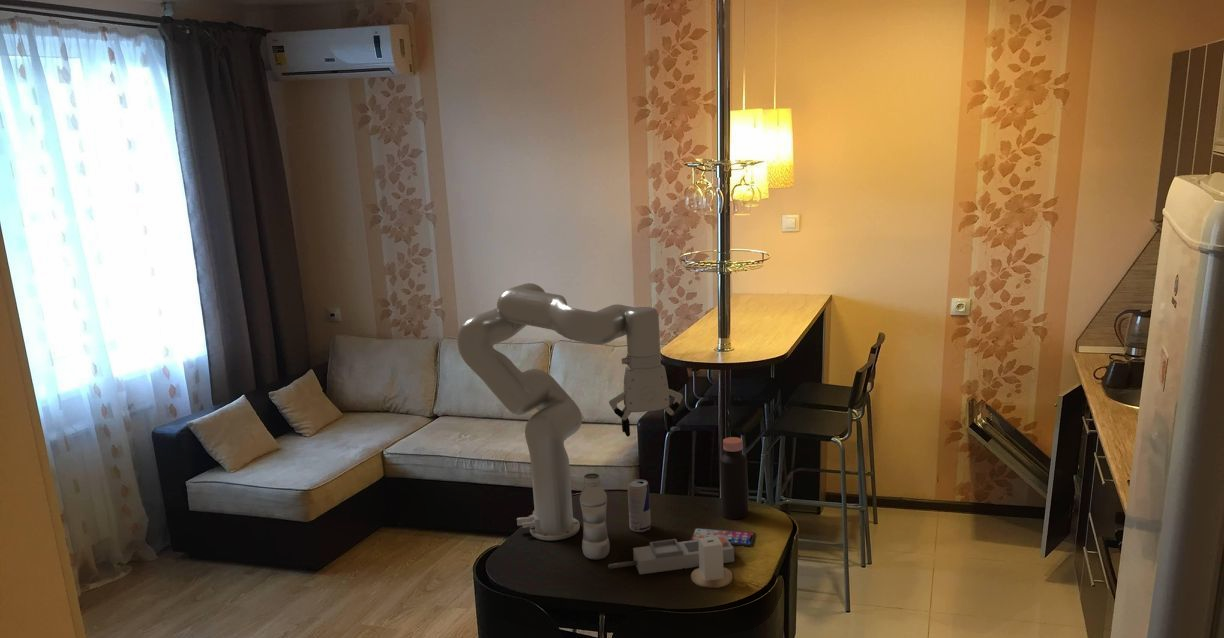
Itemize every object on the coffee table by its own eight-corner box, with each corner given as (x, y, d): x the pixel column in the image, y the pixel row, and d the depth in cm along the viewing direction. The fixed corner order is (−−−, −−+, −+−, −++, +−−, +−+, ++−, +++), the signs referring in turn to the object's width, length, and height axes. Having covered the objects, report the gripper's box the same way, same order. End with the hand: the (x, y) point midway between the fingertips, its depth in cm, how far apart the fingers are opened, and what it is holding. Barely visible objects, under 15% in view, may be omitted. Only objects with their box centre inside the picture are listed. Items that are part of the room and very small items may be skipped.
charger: (705, 581, 181) (703, 546, 180) (699, 572, 185) (698, 538, 184) (723, 578, 182) (722, 543, 181) (717, 569, 186) (716, 535, 185)
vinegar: (727, 507, 220) (725, 434, 216) (752, 511, 216) (750, 437, 212) (717, 517, 214) (714, 442, 210) (742, 521, 211) (740, 446, 207)
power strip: (611, 578, 186) (610, 560, 185) (606, 564, 192) (605, 547, 192) (734, 561, 191) (733, 544, 190) (725, 548, 197) (725, 532, 196)
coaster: (697, 590, 179) (697, 588, 179) (686, 570, 188) (686, 568, 187) (737, 584, 180) (737, 582, 180) (725, 565, 189) (725, 563, 189)
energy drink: (654, 526, 211) (652, 481, 209) (644, 534, 207) (641, 488, 204) (636, 522, 214) (634, 477, 212) (625, 530, 209) (623, 485, 207)
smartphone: (694, 527, 208) (755, 531, 204) (694, 531, 208) (755, 535, 204) (689, 540, 201) (752, 545, 197) (689, 544, 201) (752, 549, 197)
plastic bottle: (596, 547, 201) (591, 468, 197) (616, 555, 196) (611, 475, 193) (576, 557, 197) (571, 476, 193) (596, 566, 192) (591, 483, 188)
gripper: (609, 368, 187) (613, 441, 190) (685, 361, 190) (687, 433, 193) (604, 361, 194) (608, 431, 198) (676, 354, 197) (679, 423, 200)
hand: (647, 432), depth 195 cm, fingers open, 9 cm apart
